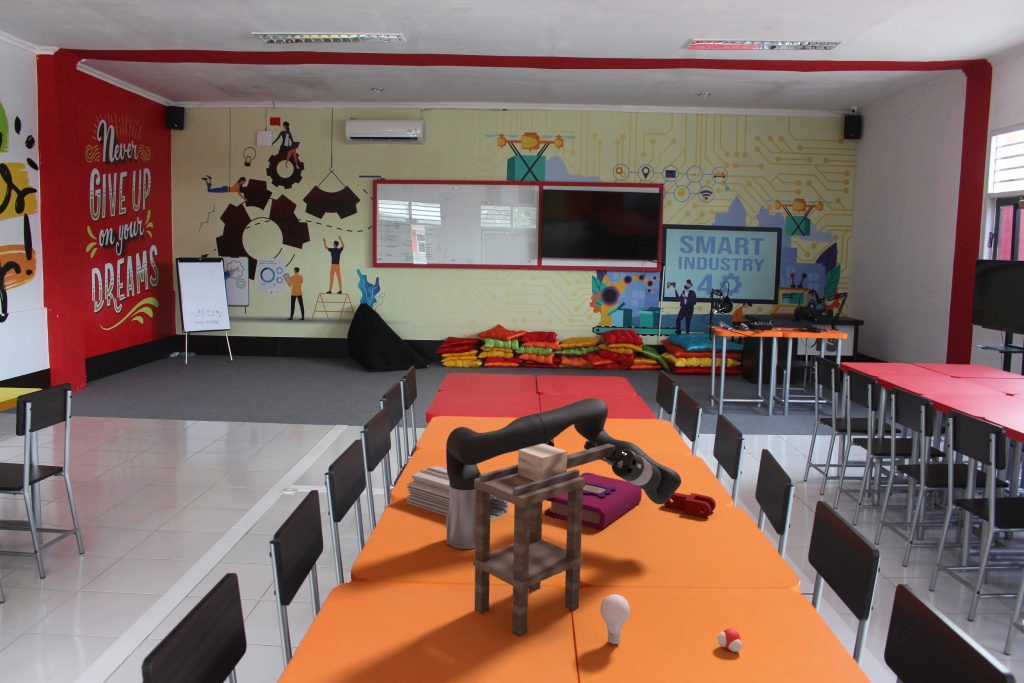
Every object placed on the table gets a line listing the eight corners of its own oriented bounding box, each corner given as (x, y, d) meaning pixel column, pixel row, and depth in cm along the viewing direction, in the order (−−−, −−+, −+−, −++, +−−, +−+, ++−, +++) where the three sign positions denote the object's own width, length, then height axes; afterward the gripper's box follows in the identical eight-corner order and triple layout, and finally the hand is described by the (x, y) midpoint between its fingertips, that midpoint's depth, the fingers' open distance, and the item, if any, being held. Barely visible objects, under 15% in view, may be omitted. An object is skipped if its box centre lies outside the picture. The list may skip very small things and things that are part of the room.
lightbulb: (596, 635, 166) (598, 589, 164) (624, 635, 167) (626, 588, 165) (602, 651, 160) (604, 603, 158) (631, 650, 160) (633, 602, 159)
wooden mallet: (542, 483, 169) (542, 457, 168) (517, 474, 175) (518, 449, 174) (623, 458, 189) (624, 435, 188) (599, 451, 195) (600, 428, 194)
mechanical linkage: (715, 512, 241) (716, 497, 240) (709, 519, 234) (710, 504, 234) (667, 502, 248) (668, 488, 248) (660, 509, 242) (660, 494, 242)
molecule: (736, 642, 164) (737, 624, 164) (743, 655, 160) (745, 636, 159) (713, 642, 164) (715, 624, 164) (720, 655, 159) (721, 636, 159)
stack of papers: (479, 527, 225) (479, 495, 224) (406, 503, 243) (406, 474, 242) (508, 513, 237) (508, 483, 235) (436, 491, 255) (436, 463, 253)
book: (641, 504, 247) (642, 482, 246) (602, 532, 224) (603, 508, 223) (584, 491, 258) (585, 470, 257) (542, 516, 235) (543, 493, 234)
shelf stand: (519, 637, 165) (522, 491, 160) (472, 609, 176) (474, 473, 171) (580, 607, 178) (585, 472, 173) (533, 583, 190) (536, 456, 185)
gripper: (649, 488, 193) (615, 469, 182) (606, 474, 203) (572, 455, 192) (659, 461, 194) (626, 440, 184) (616, 448, 205) (582, 428, 194)
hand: (598, 448), depth 188 cm, fingers open, 8 cm apart
